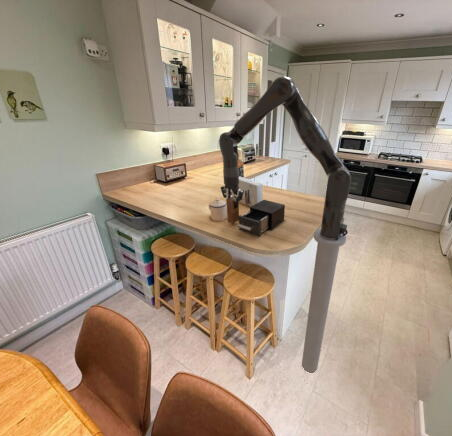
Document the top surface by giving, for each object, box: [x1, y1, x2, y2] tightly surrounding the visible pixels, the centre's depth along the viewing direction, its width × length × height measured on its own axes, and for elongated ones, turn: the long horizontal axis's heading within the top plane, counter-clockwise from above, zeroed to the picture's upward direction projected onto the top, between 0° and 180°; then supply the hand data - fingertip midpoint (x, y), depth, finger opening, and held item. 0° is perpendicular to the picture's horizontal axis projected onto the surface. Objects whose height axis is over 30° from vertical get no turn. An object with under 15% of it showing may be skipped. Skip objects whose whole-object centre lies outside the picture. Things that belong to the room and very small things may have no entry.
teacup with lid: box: [208, 197, 228, 222], centre depth 131 cm, size 12×9×12 cm
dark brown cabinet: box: [249, 199, 286, 231], centre depth 126 cm, size 14×14×10 cm
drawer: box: [237, 210, 271, 238], centre depth 116 cm, size 16×12×8 cm
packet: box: [225, 196, 240, 224], centre depth 123 cm, size 4×5×13 cm
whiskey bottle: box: [233, 145, 245, 178], centre depth 172 cm, size 10×10×32 cm
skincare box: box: [238, 176, 264, 208], centre depth 148 cm, size 21×6×16 cm, turn 45°
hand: (232, 206), depth 122 cm, fingers closed on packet, 4 cm apart
